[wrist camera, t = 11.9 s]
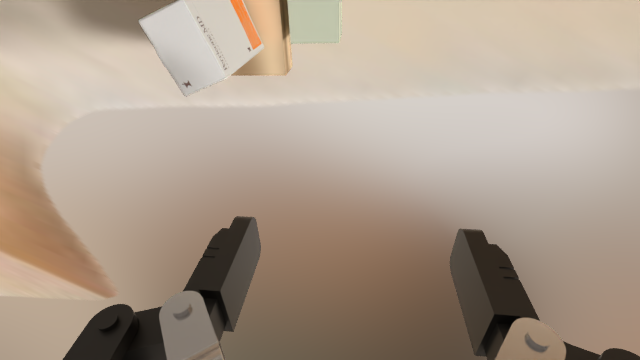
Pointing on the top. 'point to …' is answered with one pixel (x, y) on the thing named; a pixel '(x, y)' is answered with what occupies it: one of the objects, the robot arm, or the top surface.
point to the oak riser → (269, 38)
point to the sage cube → (315, 21)
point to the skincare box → (202, 40)
